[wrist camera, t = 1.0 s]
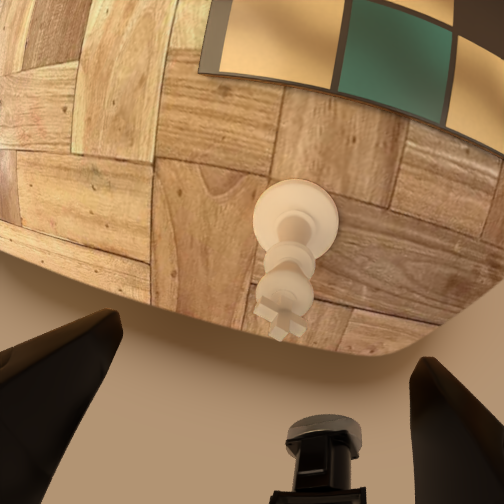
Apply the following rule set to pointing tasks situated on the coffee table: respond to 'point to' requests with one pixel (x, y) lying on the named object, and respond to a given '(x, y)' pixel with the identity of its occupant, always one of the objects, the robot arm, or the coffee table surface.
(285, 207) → the chess piece
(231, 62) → the game board
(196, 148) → the coffee table surface
